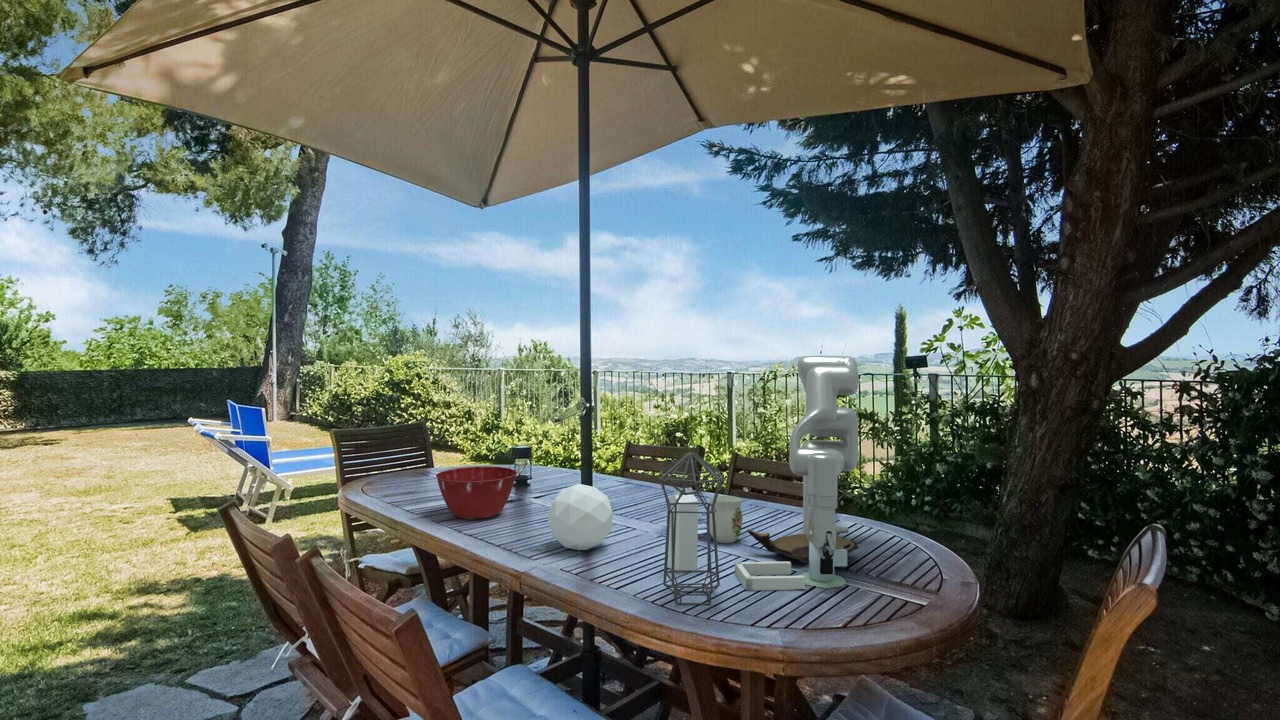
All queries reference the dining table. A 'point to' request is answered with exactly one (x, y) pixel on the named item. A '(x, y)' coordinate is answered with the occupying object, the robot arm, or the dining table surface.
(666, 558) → the geometric lantern
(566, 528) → the ball
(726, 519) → the pitcher
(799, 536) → the oil lamp
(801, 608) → the dining table surface
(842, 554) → the jug
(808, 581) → the mat
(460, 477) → the mixing bowl
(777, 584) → the holder
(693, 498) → the milk
